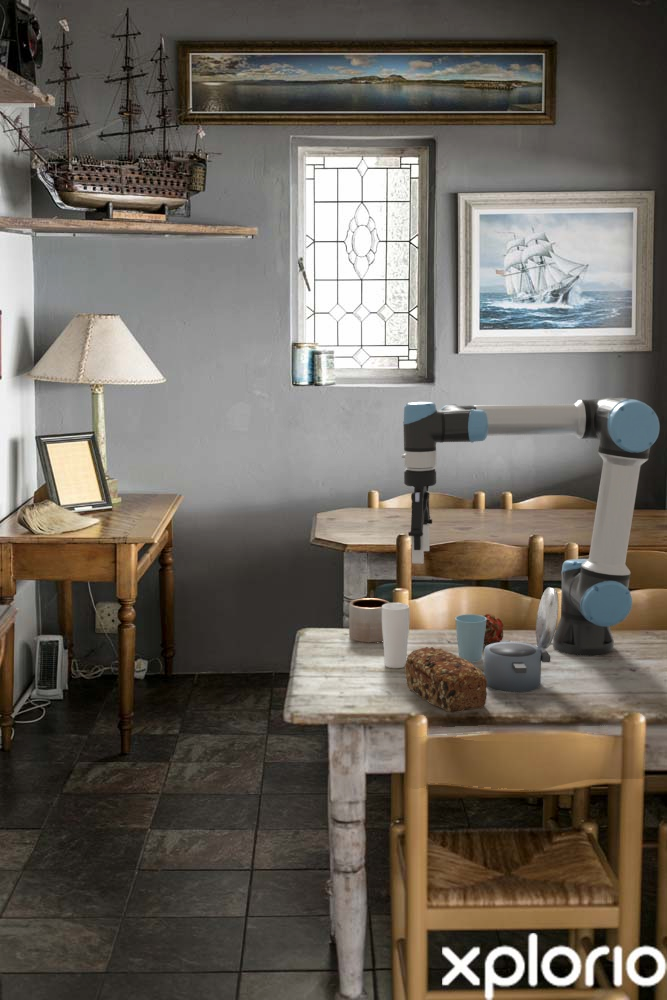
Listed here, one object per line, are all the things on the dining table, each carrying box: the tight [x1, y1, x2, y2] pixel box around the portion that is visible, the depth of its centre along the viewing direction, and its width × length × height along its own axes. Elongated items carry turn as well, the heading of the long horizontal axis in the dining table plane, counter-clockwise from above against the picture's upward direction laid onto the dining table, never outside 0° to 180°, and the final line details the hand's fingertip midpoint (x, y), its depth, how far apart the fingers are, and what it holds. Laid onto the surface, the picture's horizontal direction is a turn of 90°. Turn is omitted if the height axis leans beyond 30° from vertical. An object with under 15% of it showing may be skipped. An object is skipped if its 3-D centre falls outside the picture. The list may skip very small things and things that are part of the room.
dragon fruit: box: [483, 613, 504, 647], centre depth 290 cm, size 8×8×12 cm
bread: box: [404, 646, 488, 713], centre depth 249 cm, size 19×11×10 cm, turn 26°
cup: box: [454, 613, 487, 663], centre depth 277 cm, size 8×8×10 cm
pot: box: [483, 640, 551, 694], centre depth 259 cm, size 15×21×8 cm
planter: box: [348, 597, 391, 644], centre depth 295 cm, size 11×11×10 cm
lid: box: [535, 586, 560, 653], centre depth 257 cm, size 14×14×2 cm
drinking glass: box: [382, 602, 411, 669], centre depth 271 cm, size 7×7×15 cm
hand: (420, 557), depth 266 cm, fingers open, 13 cm apart
